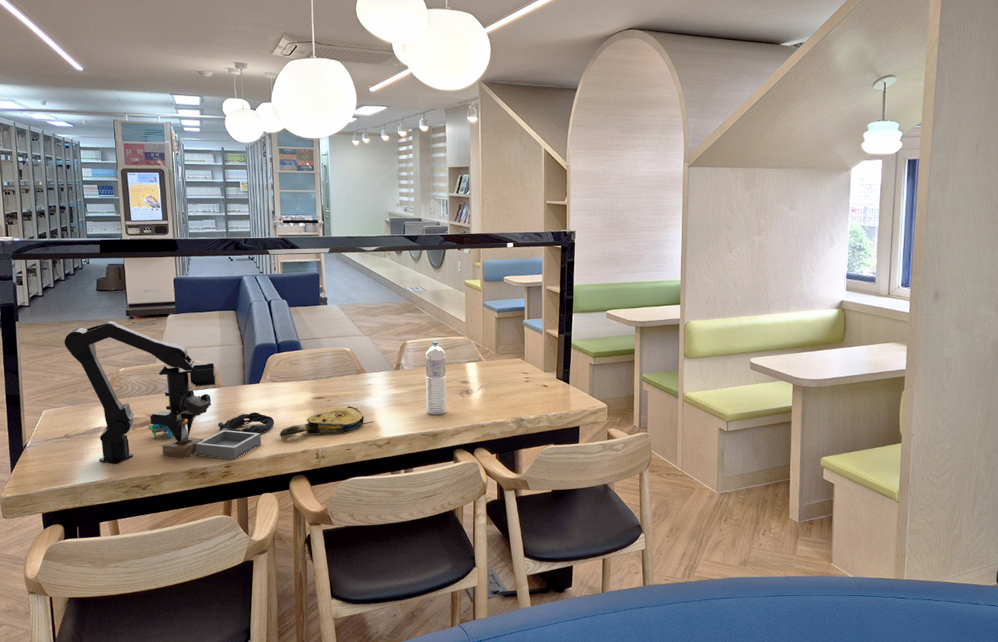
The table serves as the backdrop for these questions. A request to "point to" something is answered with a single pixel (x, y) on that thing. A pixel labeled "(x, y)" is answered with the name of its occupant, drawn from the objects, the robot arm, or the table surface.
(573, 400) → the table surface
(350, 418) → the pulley block
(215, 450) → the tray
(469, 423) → the table surface
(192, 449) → the block
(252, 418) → the cable
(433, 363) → the water bottle
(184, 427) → the pin
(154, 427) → the gear
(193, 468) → the table surface
